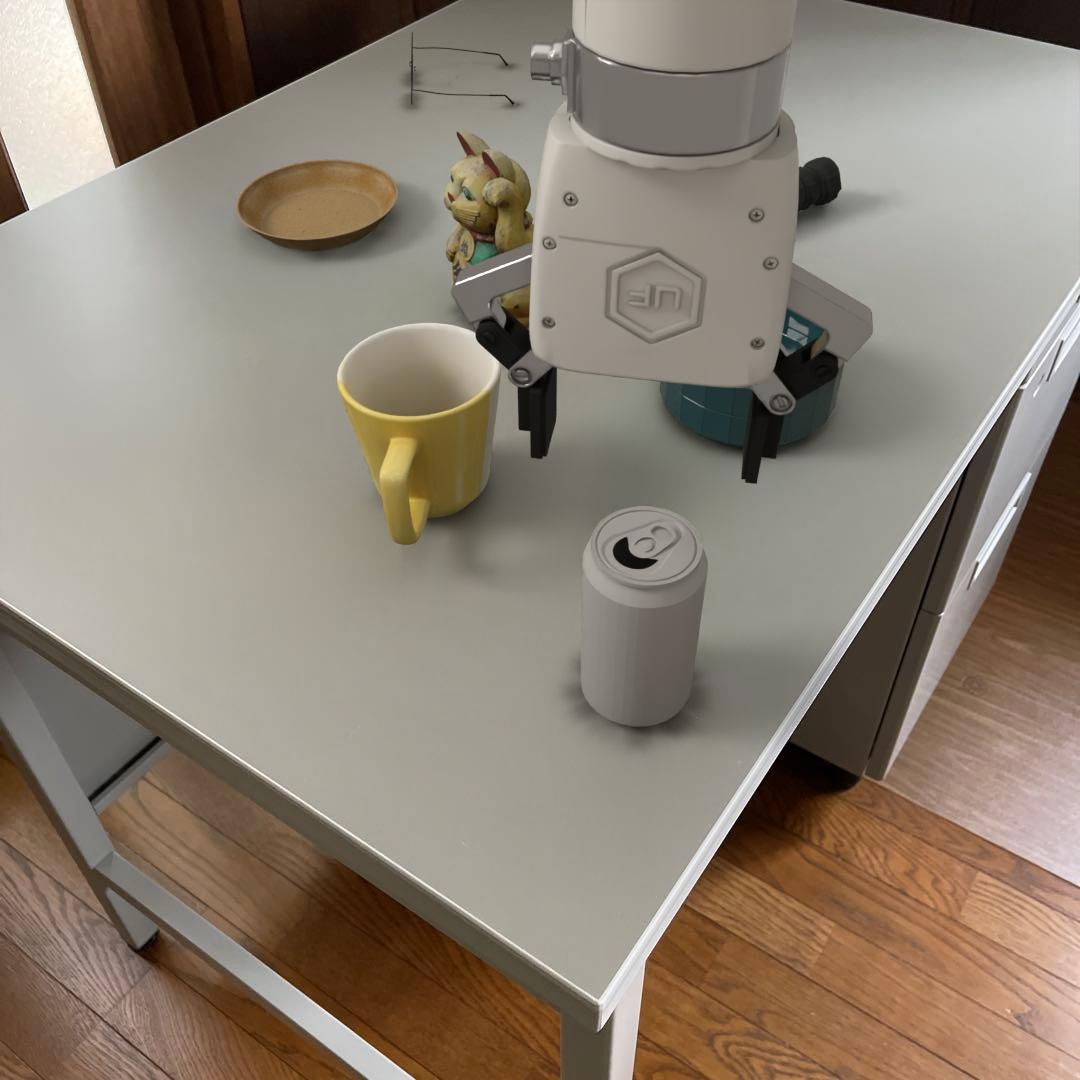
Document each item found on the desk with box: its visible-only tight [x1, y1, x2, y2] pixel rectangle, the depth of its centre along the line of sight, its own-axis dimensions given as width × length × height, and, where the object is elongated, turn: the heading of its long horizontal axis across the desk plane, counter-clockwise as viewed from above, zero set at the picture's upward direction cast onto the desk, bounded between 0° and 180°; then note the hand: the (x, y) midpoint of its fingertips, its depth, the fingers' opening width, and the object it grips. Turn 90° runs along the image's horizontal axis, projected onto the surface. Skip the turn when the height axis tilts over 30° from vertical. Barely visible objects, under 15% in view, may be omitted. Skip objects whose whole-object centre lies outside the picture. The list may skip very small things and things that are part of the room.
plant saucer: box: [235, 158, 399, 252], centre depth 102 cm, size 15×15×3 cm
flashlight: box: [798, 156, 842, 213], centre depth 98 cm, size 5×21×5 cm, turn 122°
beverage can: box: [579, 505, 709, 728], centre depth 60 cm, size 6×6×12 cm
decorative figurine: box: [443, 130, 534, 328], centre depth 86 cm, size 10×8×15 cm
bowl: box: [659, 308, 846, 448], centre depth 81 cm, size 13×13×6 cm
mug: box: [336, 322, 502, 546], centre depth 71 cm, size 14×10×10 cm
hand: (645, 451), depth 51 cm, fingers open, 9 cm apart
